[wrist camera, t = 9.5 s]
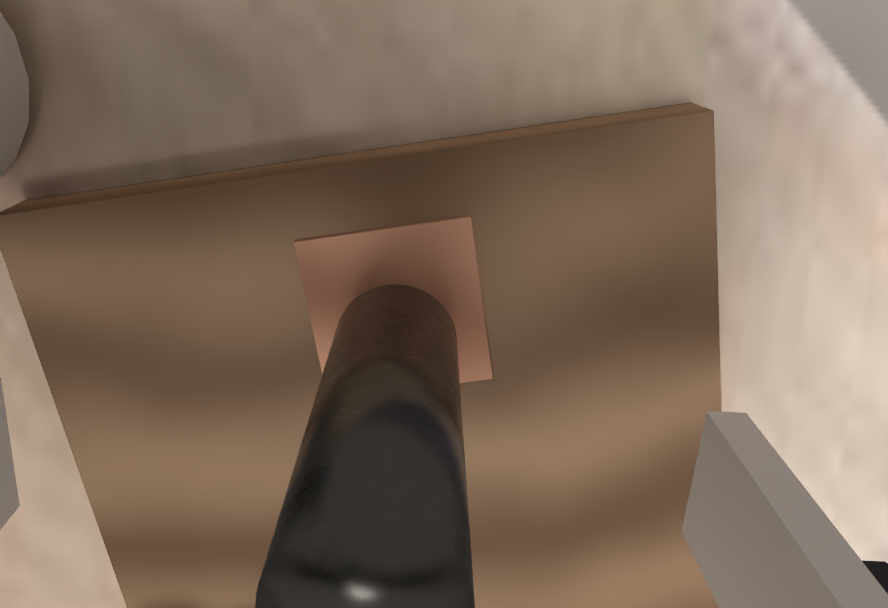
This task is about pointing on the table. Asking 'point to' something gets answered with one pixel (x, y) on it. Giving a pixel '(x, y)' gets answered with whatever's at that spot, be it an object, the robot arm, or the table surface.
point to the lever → (379, 469)
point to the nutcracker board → (478, 341)
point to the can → (11, 97)
